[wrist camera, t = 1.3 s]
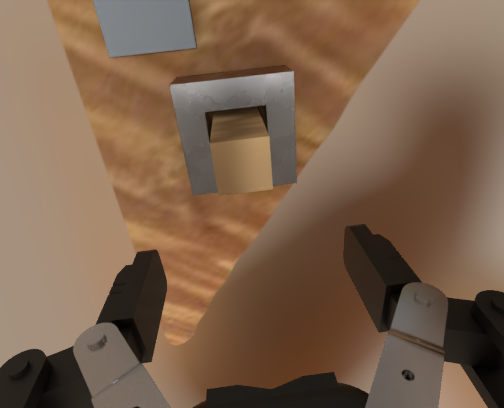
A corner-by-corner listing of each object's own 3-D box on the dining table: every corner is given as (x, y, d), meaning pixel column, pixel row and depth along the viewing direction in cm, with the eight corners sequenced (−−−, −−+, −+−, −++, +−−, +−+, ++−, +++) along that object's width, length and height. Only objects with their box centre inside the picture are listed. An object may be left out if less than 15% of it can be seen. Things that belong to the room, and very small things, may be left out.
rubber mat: (178, -62, 24) (177, -64, 23) (196, 47, 28) (196, 47, 27) (80, -52, 24) (77, -53, 23) (112, 56, 27) (109, 57, 27)
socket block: (284, 65, 29) (293, 71, 25) (288, 165, 34) (296, 182, 30) (176, 77, 29) (169, 85, 25) (196, 175, 34) (193, 195, 30)
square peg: (255, 102, 30) (269, 136, 21) (258, 141, 32) (273, 189, 23) (214, 106, 30) (209, 143, 21) (220, 146, 32) (218, 195, 23)
